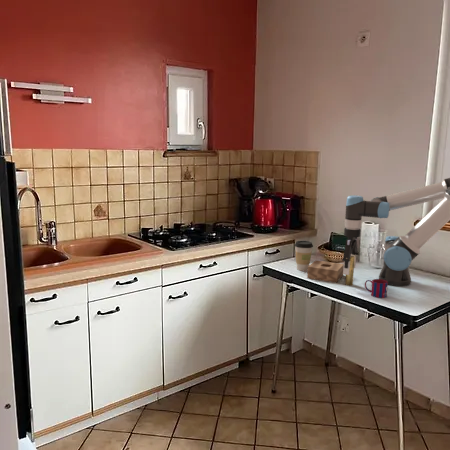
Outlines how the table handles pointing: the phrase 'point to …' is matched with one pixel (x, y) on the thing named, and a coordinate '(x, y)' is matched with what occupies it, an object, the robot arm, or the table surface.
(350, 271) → the pin
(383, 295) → the cup
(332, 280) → the socket block
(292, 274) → the table surface
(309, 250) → the coffee cup
